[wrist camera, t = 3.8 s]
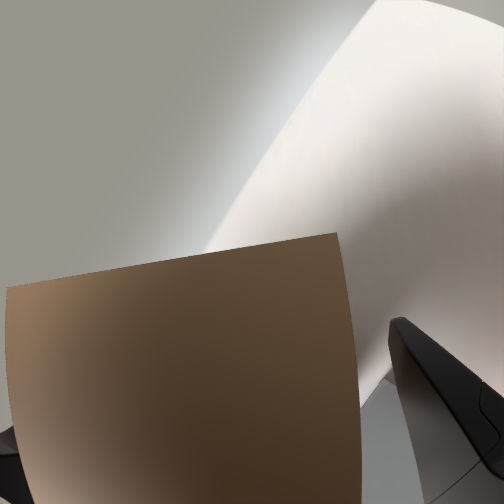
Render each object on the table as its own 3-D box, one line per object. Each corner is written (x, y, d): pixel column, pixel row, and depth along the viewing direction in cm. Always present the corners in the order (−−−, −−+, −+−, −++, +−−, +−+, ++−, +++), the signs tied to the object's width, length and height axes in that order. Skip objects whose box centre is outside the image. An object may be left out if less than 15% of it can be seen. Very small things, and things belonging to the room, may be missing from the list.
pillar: (331, 407, 13) (350, 610, 1) (244, 414, 14) (53, 544, 2) (322, 323, 15) (336, 231, 2) (237, 333, 15) (7, 288, 3)
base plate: (469, 431, 10) (480, 437, 9) (390, 522, 10) (395, 534, 8) (383, 378, 13) (389, 381, 12) (299, 477, 12) (297, 489, 11)
